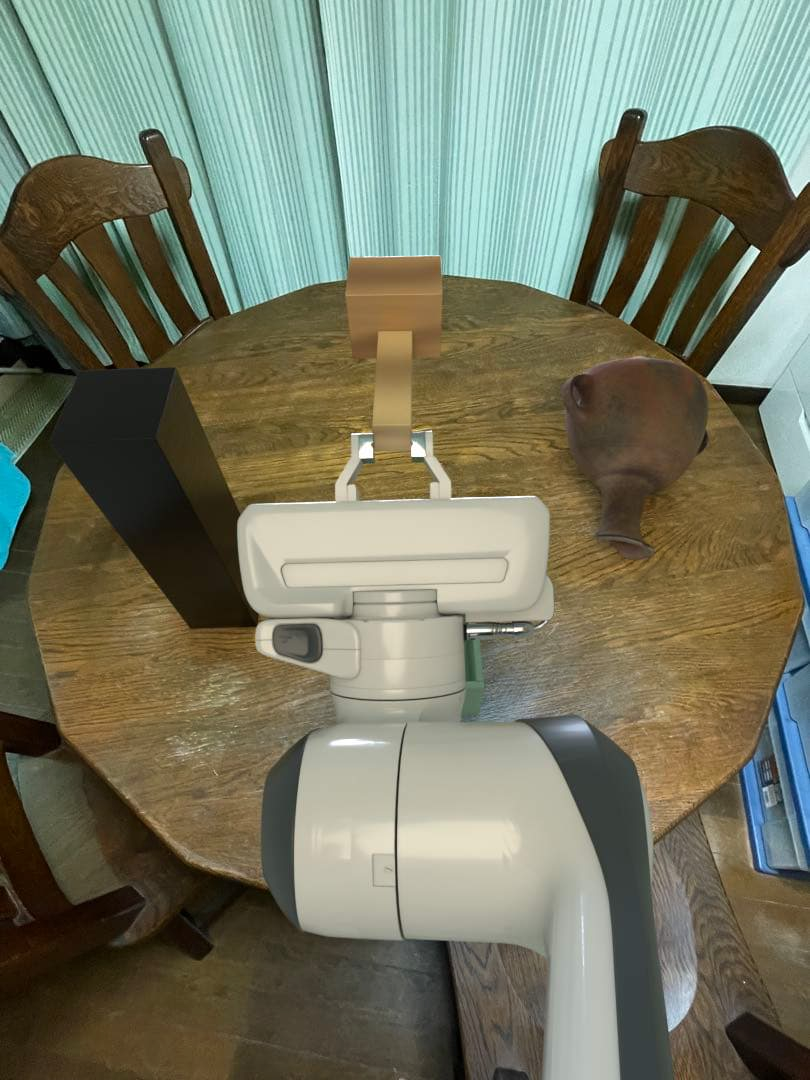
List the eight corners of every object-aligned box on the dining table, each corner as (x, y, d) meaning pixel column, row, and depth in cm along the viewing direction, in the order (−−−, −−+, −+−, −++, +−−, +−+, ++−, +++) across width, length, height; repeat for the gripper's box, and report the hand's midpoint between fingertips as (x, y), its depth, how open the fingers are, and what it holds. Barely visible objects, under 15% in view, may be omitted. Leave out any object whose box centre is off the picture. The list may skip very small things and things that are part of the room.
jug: (575, 406, 100) (545, 565, 89) (572, 318, 84) (535, 499, 72) (707, 411, 93) (693, 584, 82) (732, 315, 76) (720, 517, 65)
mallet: (443, 451, 41) (445, 389, 36) (343, 452, 41) (333, 390, 37) (439, 319, 50) (441, 255, 45) (356, 320, 50) (349, 256, 45)
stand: (257, 626, 79) (155, 438, 49) (190, 629, 79) (48, 442, 49) (264, 569, 84) (176, 366, 54) (201, 571, 84) (79, 370, 54)
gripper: (568, 642, 35) (558, 416, 36) (229, 650, 36) (228, 426, 37) (545, 633, 42) (537, 440, 43) (257, 640, 42) (255, 449, 43)
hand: (391, 434), depth 40 cm, fingers closed on mallet, 2 cm apart
